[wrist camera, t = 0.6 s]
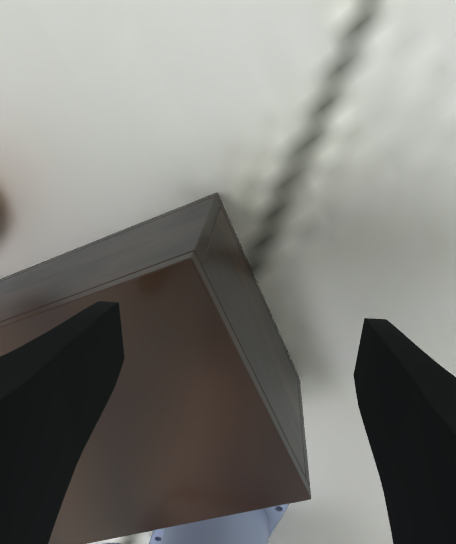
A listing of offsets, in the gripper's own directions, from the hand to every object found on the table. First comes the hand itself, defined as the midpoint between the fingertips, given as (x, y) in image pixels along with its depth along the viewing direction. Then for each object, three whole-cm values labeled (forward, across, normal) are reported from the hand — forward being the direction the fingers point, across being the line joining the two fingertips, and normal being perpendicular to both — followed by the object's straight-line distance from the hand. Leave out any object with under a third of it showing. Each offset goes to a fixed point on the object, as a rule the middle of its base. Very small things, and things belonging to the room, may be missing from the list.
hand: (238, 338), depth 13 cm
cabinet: (+10, +6, +7) cm, 13 cm away
